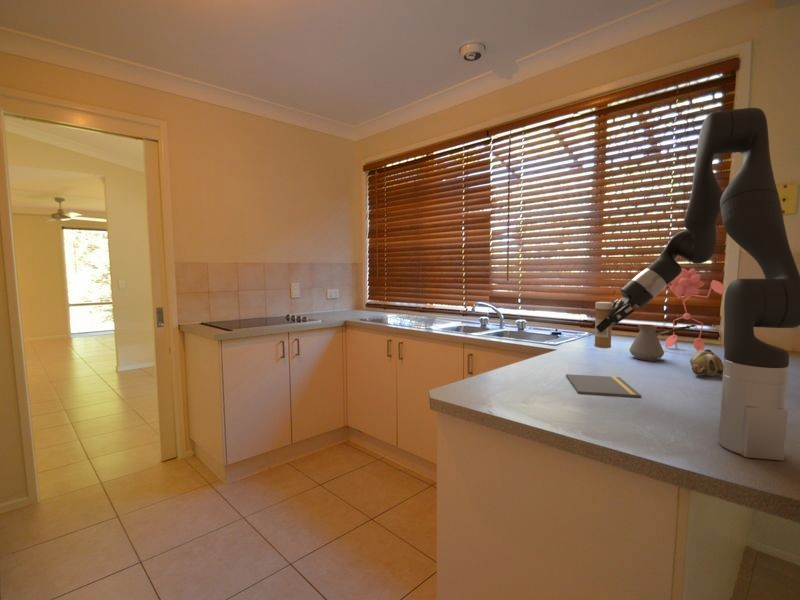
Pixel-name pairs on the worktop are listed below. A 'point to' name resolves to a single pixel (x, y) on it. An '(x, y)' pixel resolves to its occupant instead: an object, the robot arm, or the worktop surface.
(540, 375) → the worktop surface
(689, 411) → the worktop surface
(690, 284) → the pink flower figure
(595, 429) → the worktop surface
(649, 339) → the coffee pot
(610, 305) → the sprinkles bottle
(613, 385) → the line mat
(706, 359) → the ceramic sculpture
